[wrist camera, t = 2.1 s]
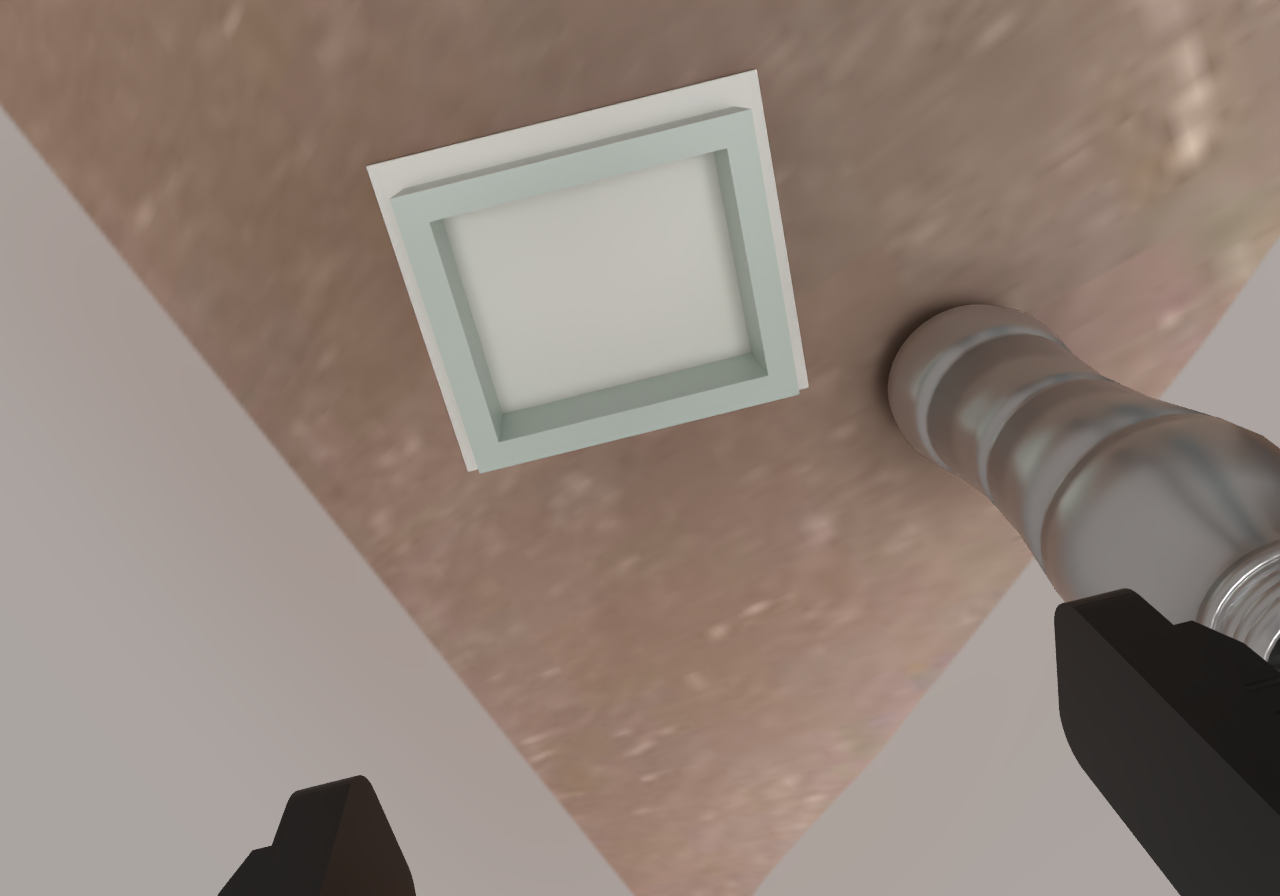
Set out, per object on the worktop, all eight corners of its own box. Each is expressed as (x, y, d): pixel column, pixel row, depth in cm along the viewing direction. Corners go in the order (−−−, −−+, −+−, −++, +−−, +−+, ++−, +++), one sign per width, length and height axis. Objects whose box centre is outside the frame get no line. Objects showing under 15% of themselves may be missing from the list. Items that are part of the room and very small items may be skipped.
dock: (369, 165, 32) (348, 175, 29) (753, 69, 32) (776, 68, 29) (469, 465, 37) (461, 504, 34) (805, 382, 37) (830, 412, 34)
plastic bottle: (1025, 433, 39) (1460, 757, 20) (869, 451, 38) (1166, 798, 20) (1037, 282, 36) (1546, 495, 18) (870, 301, 36) (1212, 537, 17)
